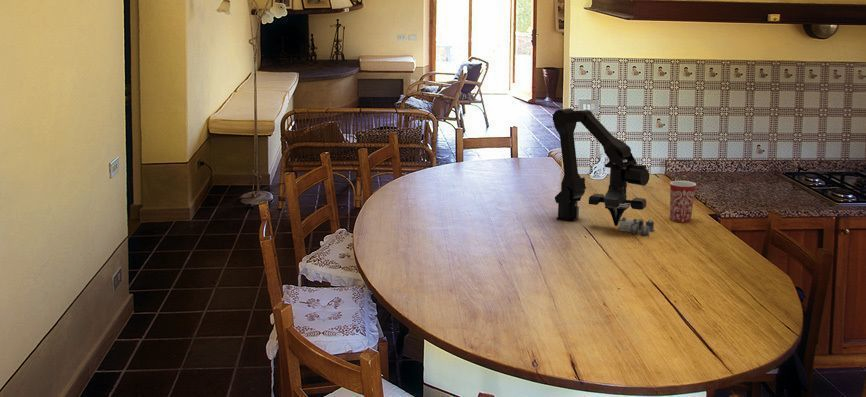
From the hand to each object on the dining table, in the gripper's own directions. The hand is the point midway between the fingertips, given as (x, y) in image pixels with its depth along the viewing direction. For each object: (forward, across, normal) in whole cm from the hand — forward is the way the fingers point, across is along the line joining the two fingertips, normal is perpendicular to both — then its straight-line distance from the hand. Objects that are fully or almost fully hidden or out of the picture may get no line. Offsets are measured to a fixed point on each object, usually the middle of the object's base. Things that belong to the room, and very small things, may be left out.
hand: (616, 225), depth 302 cm
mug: (+1, +16, +24) cm, 29 cm away
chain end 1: (+1, +7, 0) cm, 7 cm away
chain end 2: (+1, +11, 0) cm, 11 cm away
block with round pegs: (+1, +4, 0) cm, 5 cm away
